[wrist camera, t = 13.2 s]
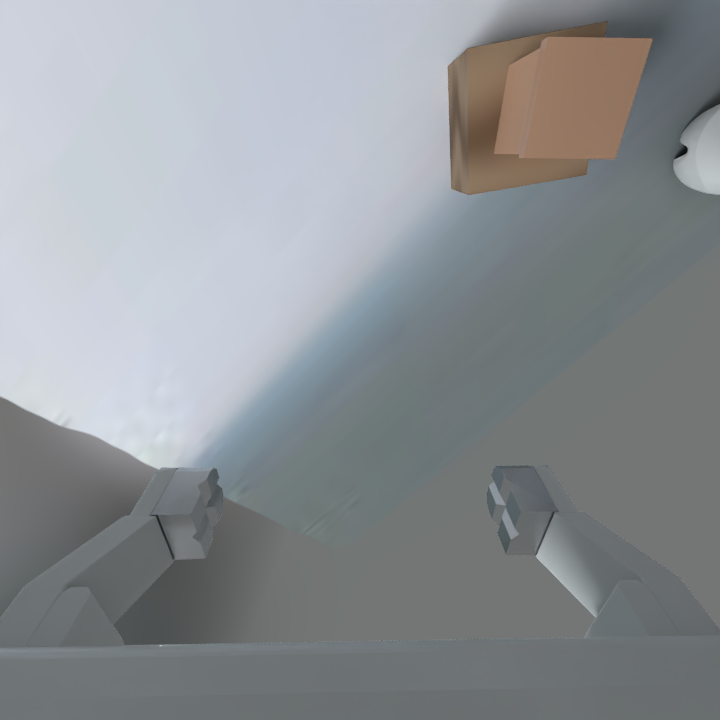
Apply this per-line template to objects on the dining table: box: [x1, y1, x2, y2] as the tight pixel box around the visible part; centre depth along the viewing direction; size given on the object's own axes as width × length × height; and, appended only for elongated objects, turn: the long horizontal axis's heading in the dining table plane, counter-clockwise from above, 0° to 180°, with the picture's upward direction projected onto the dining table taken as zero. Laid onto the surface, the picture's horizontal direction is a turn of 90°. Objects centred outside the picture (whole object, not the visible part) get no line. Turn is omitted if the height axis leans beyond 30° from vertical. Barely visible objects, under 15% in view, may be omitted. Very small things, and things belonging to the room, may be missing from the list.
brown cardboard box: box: [494, 37, 653, 159], centre depth 23 cm, size 6×6×6 cm
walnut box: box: [448, 21, 607, 195], centre depth 29 cm, size 9×9×6 cm
